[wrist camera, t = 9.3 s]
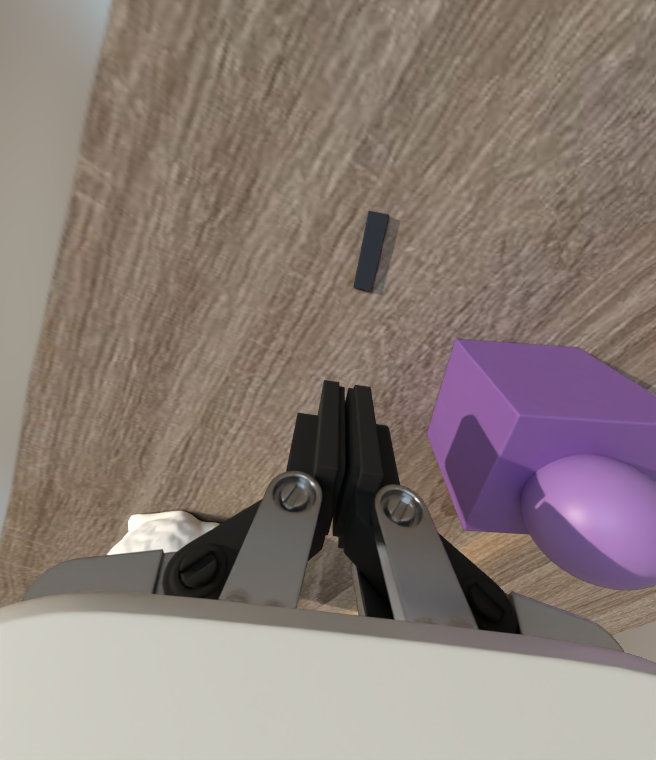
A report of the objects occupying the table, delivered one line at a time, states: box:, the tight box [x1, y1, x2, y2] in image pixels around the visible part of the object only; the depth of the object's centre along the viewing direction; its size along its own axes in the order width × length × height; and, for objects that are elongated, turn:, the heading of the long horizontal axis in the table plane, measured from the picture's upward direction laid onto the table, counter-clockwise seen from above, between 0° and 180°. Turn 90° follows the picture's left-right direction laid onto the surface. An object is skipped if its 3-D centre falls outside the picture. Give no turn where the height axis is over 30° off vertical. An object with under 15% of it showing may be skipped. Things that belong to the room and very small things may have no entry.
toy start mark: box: [354, 211, 389, 291], centre depth 13 cm, size 3×1×1 cm, turn 171°
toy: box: [427, 339, 656, 590], centre depth 12 cm, size 6×6×9 cm
